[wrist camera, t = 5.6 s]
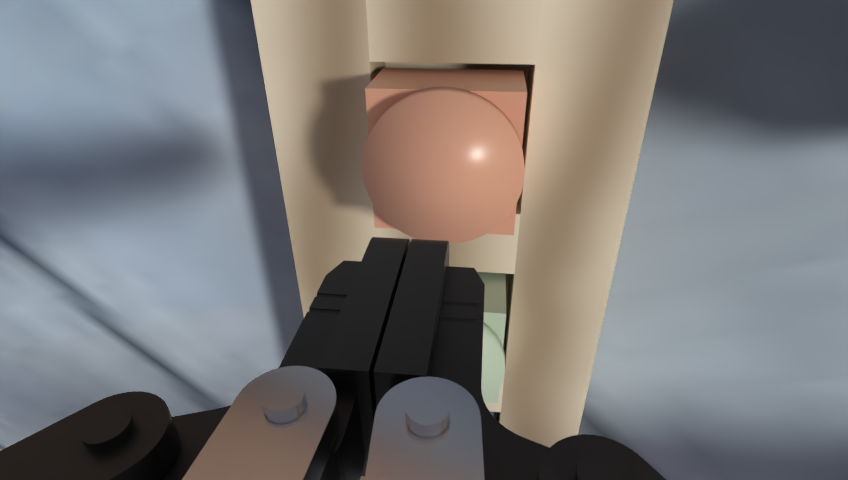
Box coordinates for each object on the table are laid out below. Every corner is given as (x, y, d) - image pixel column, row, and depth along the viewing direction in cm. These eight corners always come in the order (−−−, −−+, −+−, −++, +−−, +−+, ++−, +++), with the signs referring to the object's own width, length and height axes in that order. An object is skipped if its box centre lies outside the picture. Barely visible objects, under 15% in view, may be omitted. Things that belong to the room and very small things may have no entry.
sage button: (508, 269, 19) (509, 323, 17) (500, 357, 22) (500, 417, 19) (390, 261, 20) (373, 312, 17) (394, 349, 22) (380, 406, 20)
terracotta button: (526, 67, 16) (532, 94, 13) (514, 201, 18) (517, 248, 15) (380, 64, 16) (356, 89, 13) (387, 195, 18) (367, 240, 16)
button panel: (651, -37, 16) (680, -32, 13) (554, 466, 29) (559, 518, 26) (283, -35, 17) (245, -30, 15) (347, 444, 30) (333, 492, 27)
